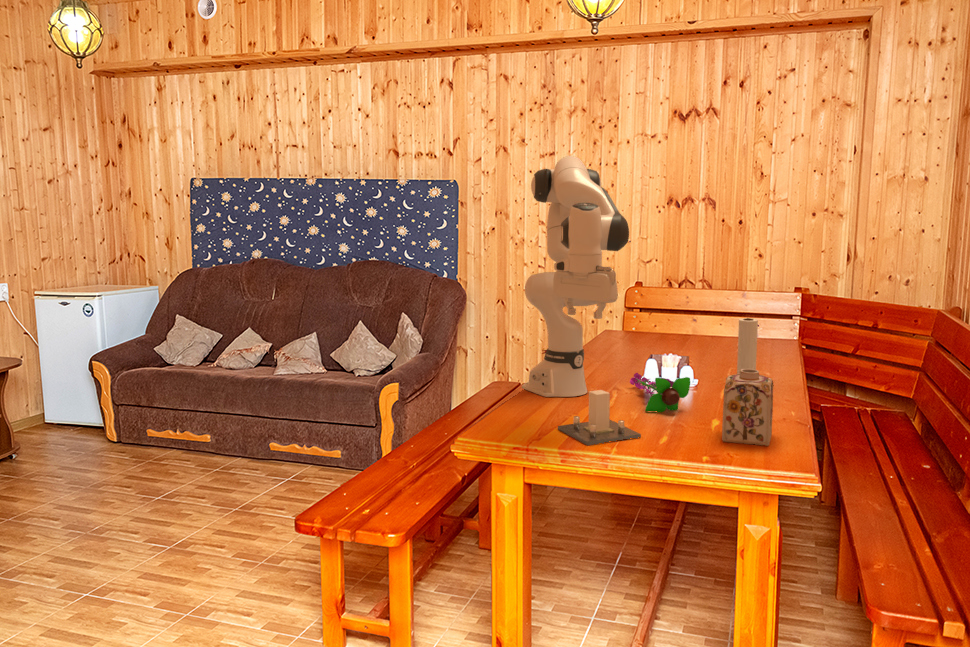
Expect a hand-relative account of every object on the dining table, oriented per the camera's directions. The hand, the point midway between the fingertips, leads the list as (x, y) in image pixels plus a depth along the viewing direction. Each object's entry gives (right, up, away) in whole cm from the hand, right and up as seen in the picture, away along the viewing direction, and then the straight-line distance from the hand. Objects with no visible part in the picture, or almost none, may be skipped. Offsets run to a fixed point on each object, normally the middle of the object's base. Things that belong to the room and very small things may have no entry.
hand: (584, 316), depth 217 cm
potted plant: (+25, -26, +34) cm, 49 cm away
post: (+4, -30, 0) cm, 30 cm away
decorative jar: (+42, -32, -6) cm, 53 cm away
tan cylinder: (+62, -22, +57) cm, 87 cm away
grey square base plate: (+4, -31, 0) cm, 31 cm away
